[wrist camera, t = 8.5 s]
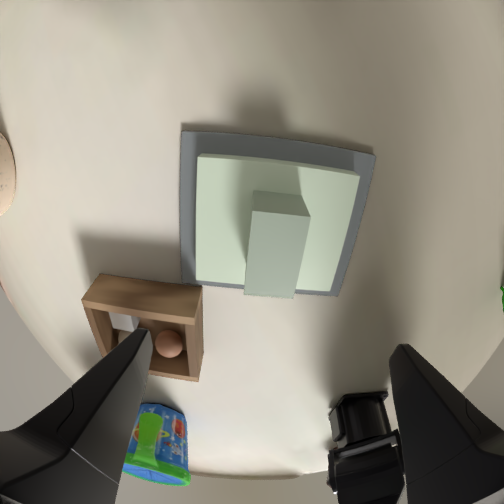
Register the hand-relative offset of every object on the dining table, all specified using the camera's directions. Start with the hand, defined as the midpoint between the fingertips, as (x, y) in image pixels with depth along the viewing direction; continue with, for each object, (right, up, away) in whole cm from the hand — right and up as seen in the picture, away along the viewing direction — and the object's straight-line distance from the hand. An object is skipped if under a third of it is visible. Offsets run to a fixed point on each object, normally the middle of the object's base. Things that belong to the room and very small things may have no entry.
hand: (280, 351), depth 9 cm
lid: (0, +5, +9) cm, 11 cm away
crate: (-10, -2, +14) cm, 17 cm away
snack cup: (-14, -19, +24) cm, 34 cm away
